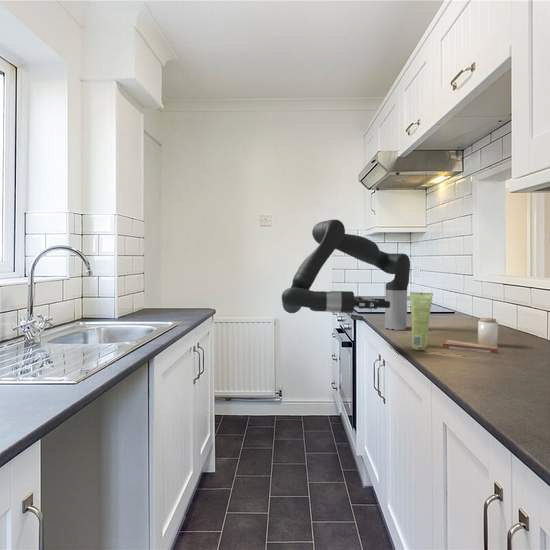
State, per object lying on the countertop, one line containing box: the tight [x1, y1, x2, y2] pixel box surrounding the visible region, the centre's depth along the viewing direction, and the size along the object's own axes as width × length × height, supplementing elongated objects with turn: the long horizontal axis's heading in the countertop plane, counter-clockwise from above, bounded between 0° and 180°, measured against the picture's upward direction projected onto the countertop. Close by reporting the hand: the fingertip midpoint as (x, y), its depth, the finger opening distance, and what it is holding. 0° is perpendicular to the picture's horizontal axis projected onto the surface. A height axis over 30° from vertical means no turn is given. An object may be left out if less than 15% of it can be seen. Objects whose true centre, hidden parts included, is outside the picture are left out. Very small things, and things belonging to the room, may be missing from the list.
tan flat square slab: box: [442, 339, 499, 354], centre depth 131 cm, size 15×16×2 cm
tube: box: [409, 291, 434, 351], centre depth 131 cm, size 6×5×20 cm
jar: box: [477, 317, 499, 347], centre depth 133 cm, size 6×6×9 cm
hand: (387, 303), depth 131 cm, fingers open, 8 cm apart
